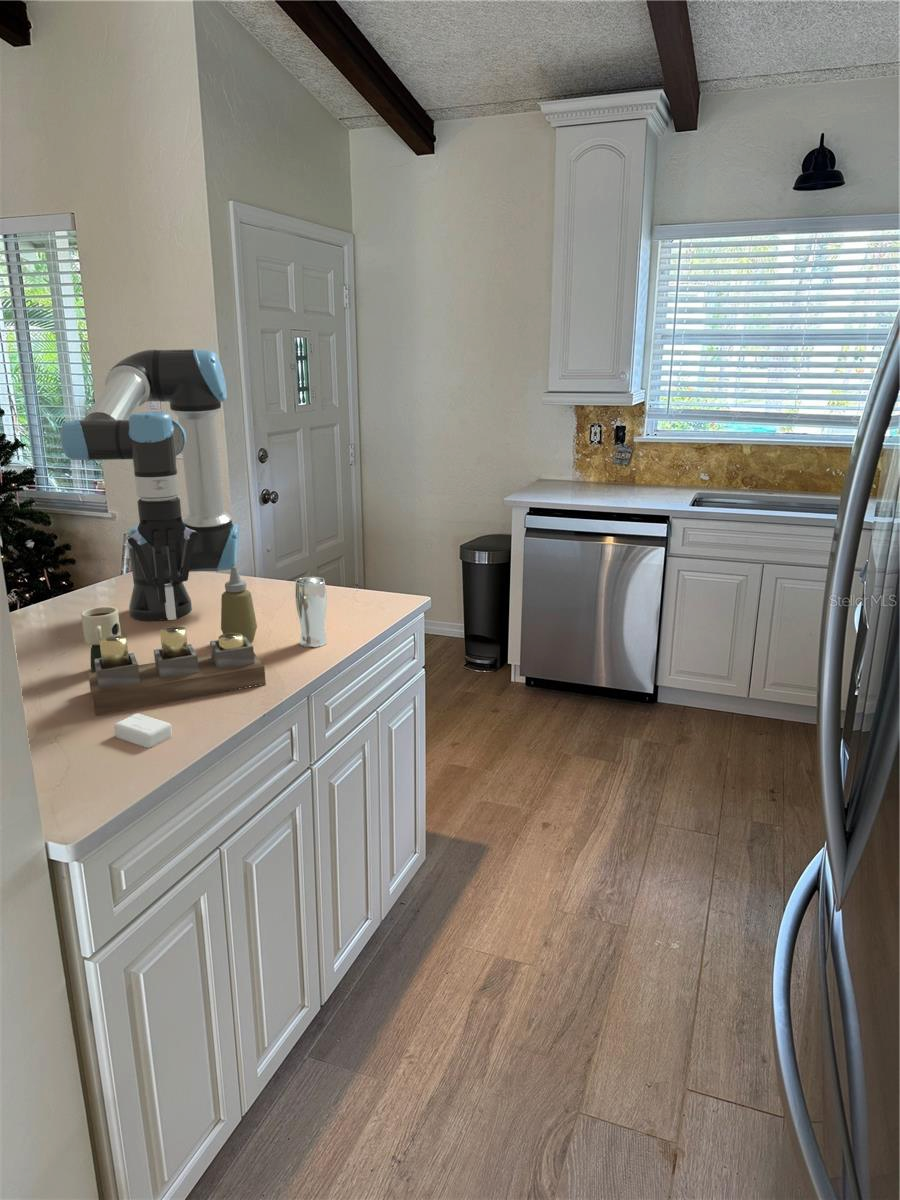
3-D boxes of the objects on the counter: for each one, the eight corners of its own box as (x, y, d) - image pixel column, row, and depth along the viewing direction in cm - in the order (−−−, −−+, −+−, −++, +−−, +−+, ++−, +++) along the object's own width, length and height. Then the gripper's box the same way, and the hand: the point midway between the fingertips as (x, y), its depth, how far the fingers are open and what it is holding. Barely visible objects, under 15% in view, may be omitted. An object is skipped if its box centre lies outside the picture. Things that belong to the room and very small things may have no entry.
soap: (174, 737, 145) (172, 722, 144) (149, 750, 141) (147, 734, 140) (139, 726, 149) (137, 711, 148) (113, 738, 145) (111, 722, 144)
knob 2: (218, 657, 170) (216, 634, 168) (241, 654, 172) (239, 630, 170) (223, 665, 166) (221, 641, 164) (247, 661, 168) (245, 637, 166)
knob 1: (101, 661, 159) (98, 636, 158) (127, 657, 161) (124, 632, 160) (103, 669, 155) (100, 644, 154) (130, 665, 157) (127, 640, 156)
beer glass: (334, 640, 191) (331, 578, 187) (317, 650, 185) (314, 586, 181) (309, 636, 194) (306, 575, 190) (292, 645, 188) (288, 582, 184)
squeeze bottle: (249, 649, 186) (243, 572, 180) (216, 647, 187) (208, 571, 182) (263, 637, 193) (258, 563, 188) (231, 635, 195) (225, 561, 190)
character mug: (123, 677, 171) (115, 617, 167) (86, 681, 169) (77, 621, 165) (127, 659, 181) (119, 602, 177) (92, 662, 179) (84, 605, 175)
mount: (90, 691, 163) (85, 656, 161) (251, 664, 177) (248, 631, 175) (95, 715, 153) (90, 677, 151) (265, 684, 167) (263, 649, 165)
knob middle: (161, 652, 164) (158, 627, 162) (185, 648, 166) (183, 624, 165) (164, 660, 160) (161, 635, 158) (190, 656, 162) (187, 631, 160)
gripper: (123, 503, 148) (138, 628, 155) (198, 497, 153) (209, 618, 160) (119, 497, 154) (133, 617, 161) (190, 491, 160) (201, 607, 167)
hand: (171, 617), depth 161 cm, fingers closed
